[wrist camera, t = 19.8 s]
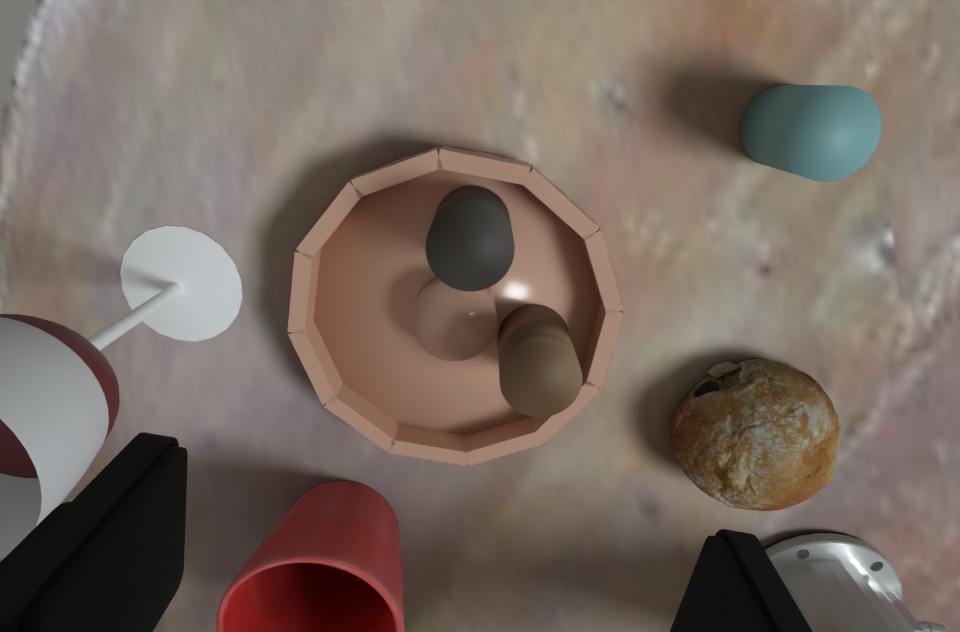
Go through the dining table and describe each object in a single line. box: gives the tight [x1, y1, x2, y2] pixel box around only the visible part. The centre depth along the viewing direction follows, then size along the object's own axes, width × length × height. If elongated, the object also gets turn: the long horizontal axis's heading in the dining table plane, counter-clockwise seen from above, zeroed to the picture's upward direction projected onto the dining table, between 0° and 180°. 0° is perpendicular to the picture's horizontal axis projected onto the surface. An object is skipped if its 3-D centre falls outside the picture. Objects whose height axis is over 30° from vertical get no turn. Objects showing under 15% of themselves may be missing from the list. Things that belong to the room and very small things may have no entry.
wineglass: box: [0, 226, 243, 559], centre depth 30 cm, size 8×9×20 cm
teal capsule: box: [740, 85, 882, 182], centre depth 33 cm, size 4×4×6 cm
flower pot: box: [217, 481, 404, 632], centre depth 41 cm, size 11×11×10 cm
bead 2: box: [498, 304, 582, 417], centre depth 36 cm, size 4×4×6 cm
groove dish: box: [287, 145, 624, 466], centre depth 38 cm, size 19×19×3 cm
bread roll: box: [671, 359, 841, 511], centre depth 40 cm, size 10×10×8 cm
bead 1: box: [425, 185, 515, 292], centre depth 34 cm, size 4×4×6 cm
